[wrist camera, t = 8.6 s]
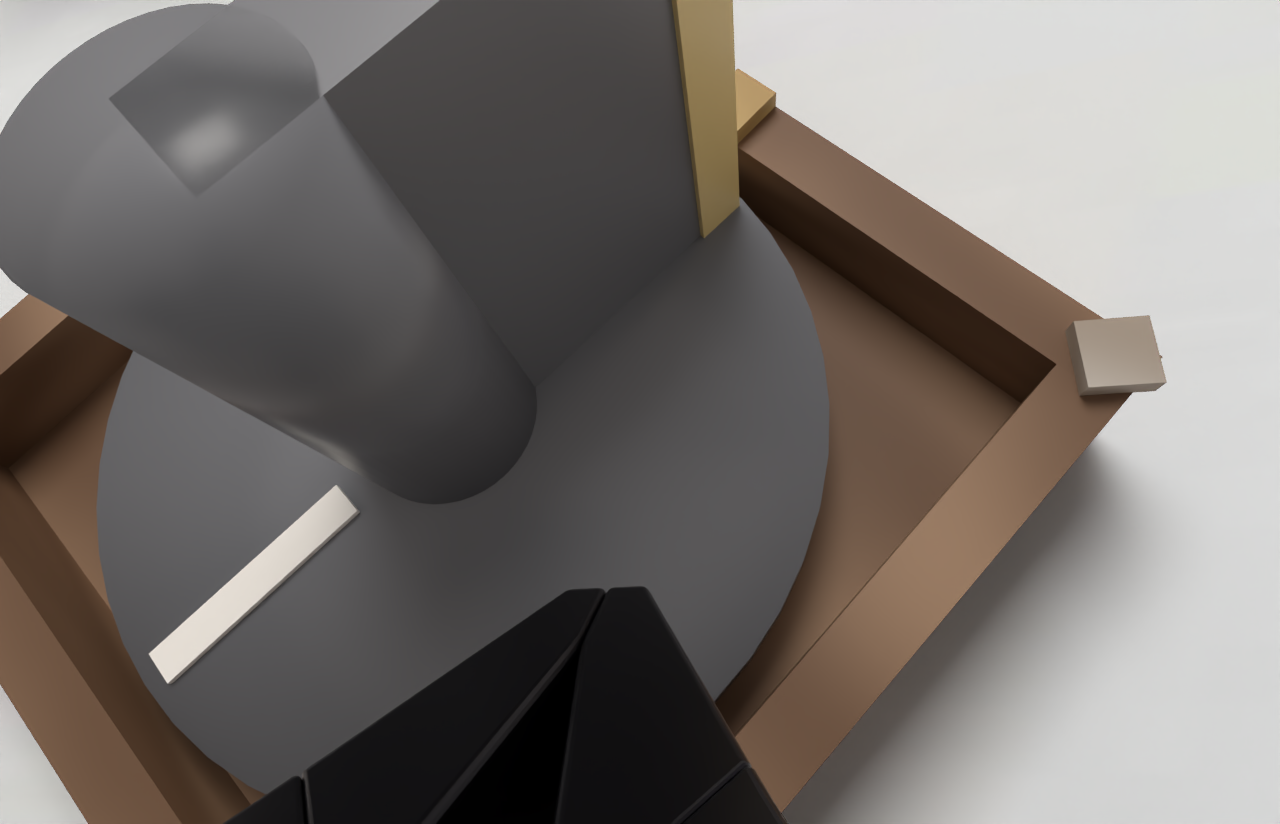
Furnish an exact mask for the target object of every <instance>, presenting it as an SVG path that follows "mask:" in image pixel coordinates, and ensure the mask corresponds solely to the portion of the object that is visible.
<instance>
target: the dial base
mask: <svg viewBox="0 0 1280 824" xmlns="http://www.w3.org/2000/svg"><path fill="white" fill-rule="evenodd" d="M735 86H736V114H737V143H738V172H739V197H740V198H741V199H742V200H743V201H744V202H745V203H746V204H747V206H748V207H749V208H750V209H751V210H752V212H753V213H754V214H755V215H756V216H757V217H758V219H759V220H760V221H761V222H762V223H763V225H764V226H765V227H766V228H767V229H768V231H769V232H770V233H771V235H772V236H773V238H774V240H775V241H776V243H777V245H778V246H779V248H780V249H781V251H782V253H783V254H784V256H785V257H786V259H787V261H788V262H789V264H790V266H791V267H792V269H793V271H794V273H795V275H796V278H797V280H798V282H799V284H800V287H801V289H802V291H803V294H804V296H805V298H806V300H807V303H808V305H809V307H810V310H811V312H812V316H813V320H814V323H815V327H816V331H817V334H818V338H819V342H820V345H821V349H822V353H823V356H824V364H825V373H826V381H827V389H828V397H829V455H828V462H827V468H826V474H825V480H824V487H823V493H822V499H821V505H820V509H819V513H818V516H817V519H816V522H815V526H814V529H813V532H812V535H811V539H810V542H809V545H808V549H807V552H806V555H805V558H804V561H803V564H802V567H801V570H800V572H799V574H798V576H797V579H796V581H795V583H794V585H793V587H792V589H791V592H790V594H789V596H788V598H787V600H786V602H785V605H784V607H783V609H782V611H781V613H780V615H779V617H778V619H777V621H776V622H775V624H774V625H773V627H772V628H771V630H770V632H769V633H768V635H767V636H766V638H765V639H764V641H763V643H762V644H761V646H760V647H759V649H758V650H757V652H756V654H755V655H754V657H753V658H752V660H751V661H750V662H749V664H748V665H747V666H746V667H745V668H744V670H743V671H742V672H741V673H740V674H739V675H738V677H737V678H736V679H735V680H734V681H733V683H732V684H731V685H730V686H729V687H728V688H727V690H726V691H725V692H724V693H723V694H722V696H721V697H720V698H719V699H718V700H717V701H716V702H715V704H716V706H717V707H718V709H719V711H720V713H721V714H722V716H723V718H724V719H725V721H726V723H727V725H728V726H729V728H730V730H731V731H732V733H733V735H734V737H735V738H736V740H737V742H738V743H739V745H740V747H741V749H742V750H743V752H744V754H745V755H746V757H747V759H748V761H749V762H750V764H751V767H752V768H753V769H754V770H755V771H756V772H757V774H758V776H759V777H760V779H761V781H762V782H763V784H764V786H765V787H766V789H767V791H768V793H769V794H770V796H771V798H772V799H773V801H774V802H775V804H776V806H777V807H778V809H779V810H780V812H781V813H782V812H783V810H784V809H785V808H786V807H787V806H788V804H789V803H790V802H791V801H792V800H793V798H794V797H795V796H796V795H797V794H798V792H799V791H800V790H801V789H802V788H803V786H804V785H805V784H806V783H807V782H808V780H809V779H810V778H811V777H812V776H813V774H814V773H815V772H816V771H817V770H818V768H819V767H820V766H821V765H822V764H823V762H824V761H825V760H826V759H827V758H828V757H829V755H830V754H831V753H832V752H833V751H834V749H835V748H836V747H837V746H838V745H839V743H840V742H841V741H842V740H843V739H844V737H845V736H846V735H847V734H848V733H849V731H850V730H851V729H852V728H853V727H854V725H855V724H856V723H857V722H858V721H859V719H860V718H861V717H862V716H863V715H864V713H865V712H866V711H867V710H868V709H869V707H870V706H871V705H872V704H873V703H874V701H875V700H876V699H877V698H878V697H879V695H880V694H881V693H882V692H883V691H884V689H885V688H886V687H887V686H888V685H889V684H890V682H891V681H892V680H893V679H894V678H895V676H896V675H897V674H898V673H899V672H900V670H901V669H902V668H903V667H904V666H905V664H906V663H907V662H908V661H909V660H910V658H911V657H912V656H913V655H914V654H915V652H916V651H917V650H918V649H919V648H920V646H921V645H922V644H923V643H924V642H925V640H926V639H927V638H928V637H929V636H930V634H931V633H932V632H933V631H934V630H935V628H936V627H937V626H938V625H939V624H940V622H941V621H942V620H943V619H944V618H945V616H946V615H947V614H948V613H949V612H950V610H951V609H952V608H953V607H954V606H955V605H956V603H957V602H958V601H959V600H960V599H961V597H962V596H963V595H964V594H965V593H966V591H967V590H968V589H969V588H970V587H971V585H972V584H973V583H974V582H975V581H976V579H977V578H978V577H979V576H980V575H981V573H982V572H983V571H984V570H985V569H986V567H987V566H988V565H989V564H990V563H991V561H992V560H993V559H994V558H995V557H996V555H997V554H998V553H999V552H1000V551H1001V549H1002V548H1003V547H1004V546H1005V545H1006V543H1007V542H1008V541H1009V540H1010V539H1011V537H1012V536H1013V535H1014V534H1015V533H1016V532H1017V530H1018V529H1019V528H1020V527H1021V526H1022V524H1023V523H1024V522H1025V521H1026V520H1027V518H1028V517H1029V516H1030V515H1031V514H1032V512H1033V511H1034V510H1035V509H1036V508H1037V506H1038V505H1039V504H1040V503H1041V502H1042V500H1043V499H1044V498H1045V497H1046V496H1047V494H1048V493H1049V492H1050V491H1051V490H1052V488H1053V487H1054V486H1055V485H1056V484H1057V482H1058V481H1059V480H1060V479H1061V478H1062V476H1063V475H1064V474H1065V473H1066V472H1067V470H1068V469H1069V468H1070V467H1071V466H1072V464H1073V463H1074V462H1075V461H1076V460H1077V459H1078V457H1079V456H1080V455H1081V454H1082V453H1083V451H1084V450H1085V449H1086V448H1087V447H1088V445H1089V444H1090V443H1091V442H1092V441H1093V439H1094V438H1095V437H1096V436H1097V435H1098V433H1099V432H1100V431H1101V430H1102V429H1103V427H1104V426H1105V425H1106V424H1107V423H1108V421H1109V420H1110V419H1111V418H1112V417H1113V415H1114V414H1115V413H1116V412H1117V411H1118V409H1119V408H1120V407H1121V406H1122V405H1123V403H1124V402H1125V401H1126V400H1127V399H1128V397H1129V396H1130V395H1131V394H1132V393H1133V392H1146V391H1156V390H1157V389H1158V388H1160V387H1161V386H1162V385H1164V384H1165V383H1166V378H1165V374H1164V370H1163V366H1162V362H1161V358H1162V356H1161V355H1159V351H1158V347H1157V343H1156V339H1155V335H1154V331H1153V328H1152V324H1151V320H1150V316H1136V317H1123V318H1110V319H1103V318H1102V317H1100V316H1099V315H1097V314H1096V313H1094V312H1093V311H1091V310H1089V309H1088V308H1086V307H1085V306H1083V305H1082V304H1080V303H1079V302H1077V301H1075V300H1074V299H1072V298H1071V297H1069V296H1068V295H1066V294H1065V293H1063V292H1062V291H1060V290H1058V289H1057V288H1055V287H1054V286H1052V285H1051V284H1049V283H1048V282H1046V281H1045V280H1043V279H1041V278H1040V277H1038V276H1037V275H1035V274H1034V273H1032V272H1031V271H1029V270H1028V269H1026V268H1024V267H1023V266H1021V265H1020V264H1018V263H1017V262H1015V261H1014V260H1012V259H1011V258H1009V257H1007V256H1006V255H1004V254H1003V253H1001V252H1000V251H998V250H997V249H995V248H994V247H992V246H990V245H989V244H987V243H986V242H984V241H983V240H981V239H980V238H978V237H976V236H975V235H973V234H972V233H970V232H969V231H967V230H966V229H964V228H963V227H961V226H959V225H958V224H956V223H955V222H953V221H952V220H950V219H949V218H947V217H946V216H944V215H942V214H941V213H939V212H938V211H936V210H935V209H933V208H932V207H930V206H929V205H927V204H925V203H924V202H922V201H921V200H919V199H918V198H916V197H915V196H913V195H912V194H910V193H908V192H907V191H905V190H904V189H902V188H901V187H899V186H898V185H896V184H895V183H893V182H891V181H890V180H888V179H887V178H885V177H884V176H882V175H881V174H879V173H877V172H876V171H874V170H873V169H871V168H870V167H868V166H867V165H865V164H864V163H862V162H860V161H859V160H857V159H856V158H854V157H853V156H851V155H850V154H848V153H847V152H845V151H843V150H842V149H840V148H839V147H837V146H836V145H834V144H833V143H831V142H830V141H828V140H826V139H825V138H823V137H822V136H820V135H819V134H817V133H816V132H814V131H813V130H811V129H809V128H808V127H806V126H805V125H803V124H802V123H800V122H799V121H797V120H796V119H794V118H792V117H791V116H789V115H788V114H786V113H785V112H783V111H782V110H780V109H778V108H777V107H775V104H776V93H775V92H774V91H772V90H771V89H769V88H768V87H766V86H765V85H763V84H761V83H760V82H758V81H757V80H755V79H754V78H752V77H750V76H749V75H747V74H746V73H744V72H743V71H741V70H740V69H737V70H736V71H735ZM132 352H133V351H132V350H130V349H129V348H127V347H125V346H123V345H121V344H120V343H118V342H116V341H114V340H112V339H110V338H109V337H107V336H105V335H103V334H101V333H99V332H98V331H96V330H94V329H92V328H90V327H88V326H87V325H85V324H83V323H81V322H79V321H77V320H76V319H74V318H72V317H70V316H68V315H66V314H65V313H63V312H61V311H59V310H57V309H55V308H54V307H52V306H50V305H48V304H46V303H44V302H43V301H41V300H39V299H37V298H35V297H34V296H32V295H30V294H28V295H27V296H26V297H25V298H24V299H22V300H21V301H20V302H19V303H18V304H17V305H16V306H14V307H13V308H12V309H11V310H10V311H9V312H7V313H6V314H5V315H4V316H3V317H2V318H1V319H0V684H1V686H2V688H3V689H4V691H5V692H6V694H7V695H8V697H9V699H10V700H11V702H12V703H13V705H14V707H15V708H16V710H17V711H18V713H19V715H20V716H21V718H22V719H23V721H24V722H25V724H26V726H27V727H28V729H29V730H30V732H31V734H32V735H33V737H34V738H35V740H36V741H37V743H38V745H39V746H40V748H41V749H42V751H43V753H44V754H45V756H46V757H47V759H48V761H49V762H50V764H51V765H52V767H53V768H54V770H55V772H56V773H57V775H58V776H59V778H60V780H61V781H62V783H63V784H64V786H65V787H66V789H67V791H68V792H69V794H70V795H71V797H72V799H73V800H74V802H75V803H76V805H77V807H78V808H79V810H80V811H81V813H82V814H83V816H84V818H85V819H86V821H87V822H88V824H223V823H224V822H226V821H227V820H229V819H230V818H232V817H233V816H235V815H236V814H238V813H239V812H241V811H242V810H244V809H245V808H247V807H248V806H250V805H251V804H253V803H254V802H256V801H257V800H259V799H260V798H262V797H263V796H265V795H266V794H264V793H262V792H260V791H258V790H256V789H254V788H252V787H250V786H248V785H246V784H245V783H244V782H242V781H241V780H239V779H238V778H236V777H235V776H234V775H232V774H231V773H229V772H228V771H227V770H225V769H224V768H222V767H221V766H219V765H218V764H217V763H215V762H214V761H212V760H211V759H210V758H208V757H207V756H206V755H205V754H204V753H203V752H202V751H201V750H200V749H199V748H198V747H197V746H196V745H195V744H194V743H193V742H192V741H191V740H190V739H189V738H188V737H187V736H186V735H185V734H184V733H183V732H181V731H180V730H179V729H178V728H177V727H176V726H175V725H174V724H173V722H172V721H171V720H170V718H169V717H168V716H167V714H166V713H165V712H164V710H163V709H162V708H161V706H160V705H159V704H158V702H157V701H156V699H155V698H154V697H153V695H152V694H151V693H150V691H149V690H148V689H147V687H146V686H145V684H144V682H143V681H142V679H141V677H140V675H139V673H138V671H137V669H136V667H135V665H134V663H133V661H132V660H131V658H130V656H129V654H128V652H127V650H126V648H125V646H124V644H123V642H122V639H121V636H120V633H119V630H118V627H117V625H116V622H115V619H114V616H113V613H112V610H111V607H110V604H109V602H108V598H107V593H106V588H105V583H104V577H103V572H102V567H101V562H100V557H99V545H98V528H97V510H96V507H97V493H98V479H99V465H100V459H101V454H102V448H103V443H104V438H105V433H106V428H107V423H108V418H109V415H110V412H111V409H112V406H113V402H114V399H115V396H116V393H117V390H118V387H119V384H120V380H121V377H122V375H123V372H124V370H125V368H126V366H127V363H128V361H129V359H130V357H131V354H132Z"/></svg>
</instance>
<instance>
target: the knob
mask: <svg viewBox="0 0 1280 824" xmlns="http://www.w3.org/2000/svg"><path fill="white" fill-rule="evenodd" d="M0 268H1V269H2V270H3V272H4V273H5V274H6V275H7V276H8V277H9V279H10V280H11V281H12V282H14V283H15V284H16V285H17V286H19V287H20V288H21V289H22V290H24V291H25V292H26V293H28V294H30V295H32V296H34V297H35V298H37V299H39V300H41V301H43V302H44V303H46V304H48V305H50V306H52V307H54V308H55V309H57V310H59V311H61V312H63V313H65V314H66V315H68V316H70V317H72V318H74V319H76V320H77V321H79V322H81V323H83V324H85V325H87V326H88V327H90V328H92V329H94V330H96V331H98V332H99V333H101V334H103V335H105V336H107V337H109V338H110V339H112V340H114V341H116V342H118V343H120V344H121V345H123V346H125V347H127V348H129V349H130V350H132V351H133V352H132V354H131V357H130V359H129V361H128V363H127V366H126V368H125V370H124V372H123V375H122V377H121V380H120V384H119V387H118V390H117V393H116V396H115V399H114V402H113V406H112V409H111V412H110V415H109V418H108V423H107V428H106V433H105V438H104V443H103V448H102V454H101V459H100V465H99V479H98V493H97V507H96V510H97V528H98V545H99V557H100V562H101V567H102V572H103V577H104V583H105V588H106V593H107V598H108V602H109V604H110V607H111V610H112V613H113V616H114V619H115V622H116V625H117V627H118V630H119V633H120V636H121V639H122V642H123V644H124V646H125V648H126V650H127V652H128V654H129V656H130V658H131V660H132V661H133V663H134V665H135V667H136V669H137V671H138V673H139V675H140V677H141V679H142V681H143V682H144V684H145V686H146V687H147V689H148V690H149V691H150V693H151V694H152V695H153V697H154V698H155V699H156V701H157V702H158V704H159V705H160V706H161V708H162V709H163V710H164V712H165V713H166V714H167V716H168V717H169V718H170V720H171V721H172V722H173V724H174V725H175V726H176V727H177V728H178V729H179V730H180V731H181V732H183V733H184V734H185V735H186V736H187V737H188V738H189V739H190V740H191V741H192V742H193V743H194V744H195V745H196V746H197V747H198V748H199V749H200V750H201V751H202V752H203V753H204V754H205V755H206V756H207V757H208V758H210V759H211V760H212V761H214V762H215V763H217V764H218V765H219V766H221V767H222V768H224V769H225V770H227V771H228V772H229V773H231V774H232V775H234V776H235V777H236V778H238V779H239V780H241V781H242V782H244V783H245V784H246V785H248V786H250V787H252V788H254V789H256V790H258V791H260V792H262V793H264V794H268V793H269V792H270V791H272V790H273V789H275V788H276V787H278V786H279V785H281V784H282V783H283V782H285V781H286V780H288V779H289V778H291V777H292V776H300V777H301V779H302V773H303V771H304V770H305V769H307V768H308V767H310V766H311V765H312V764H314V763H315V762H317V761H318V760H320V759H321V758H323V757H324V756H326V755H327V754H329V753H330V752H331V751H333V750H334V749H336V748H337V747H339V746H340V745H342V744H343V743H345V742H346V741H348V740H349V739H350V738H352V737H353V736H355V735H356V734H358V733H359V732H361V731H362V730H364V729H365V728H367V727H368V726H369V725H371V724H372V723H374V722H375V721H377V720H378V719H380V718H381V717H383V716H384V715H386V714H387V713H388V712H390V711H391V710H393V709H394V708H396V707H397V706H399V705H400V704H402V703H403V702H405V701H406V700H407V699H409V698H410V697H412V696H413V695H415V694H416V693H418V692H419V691H421V690H422V689H424V688H425V687H426V686H428V685H429V684H431V683H432V682H434V681H435V680H437V679H438V678H440V677H441V676H443V675H444V674H445V673H447V672H448V671H450V670H451V669H453V668H454V667H456V666H457V665H459V664H460V663H462V662H463V661H464V660H466V659H467V658H469V657H470V656H472V655H473V654H475V653H476V652H478V651H479V650H481V649H482V648H483V647H485V646H486V645H488V644H489V643H491V642H492V641H494V640H495V639H497V638H498V637H499V636H501V635H502V634H504V633H505V632H507V631H508V630H510V629H511V628H513V627H514V626H516V625H517V624H518V623H520V622H521V621H523V620H524V619H526V618H527V617H529V616H530V615H532V614H533V613H534V612H536V611H537V610H539V609H540V608H542V607H543V606H545V605H546V604H548V603H549V602H551V601H552V600H553V599H555V598H556V597H558V596H559V595H561V594H562V593H564V592H565V591H567V590H571V589H589V588H601V589H603V590H605V591H606V593H607V591H608V590H609V589H611V588H613V587H632V586H644V587H646V588H647V589H648V590H649V591H650V593H651V594H652V596H653V598H654V600H655V601H656V603H657V605H658V606H659V608H660V610H661V612H662V613H663V615H664V617H665V618H666V620H667V622H668V624H669V625H670V627H671V629H672V630H673V632H674V634H675V636H676V637H677V639H678V641H679V642H680V644H681V646H682V648H683V649H684V651H685V653H686V654H687V656H688V658H689V660H690V661H691V663H692V665H693V666H694V668H695V670H696V672H697V673H698V675H699V677H700V678H701V680H702V682H703V683H704V685H705V687H706V689H707V690H708V692H709V694H710V695H711V697H712V699H713V701H714V702H716V701H717V700H718V699H719V698H720V697H721V696H722V694H723V693H724V692H725V691H726V690H727V688H728V687H729V686H730V685H731V684H732V683H733V681H734V680H735V679H736V678H737V677H738V675H739V674H740V673H741V672H742V671H743V670H744V668H745V667H746V666H747V665H748V664H749V662H750V661H751V660H752V658H753V657H754V655H755V654H756V652H757V650H758V649H759V647H760V646H761V644H762V643H763V641H764V639H765V638H766V636H767V635H768V633H769V632H770V630H771V628H772V627H773V625H774V624H775V622H776V621H777V619H778V617H779V615H780V613H781V611H782V609H783V607H784V605H785V602H786V600H787V598H788V596H789V594H790V592H791V589H792V587H793V585H794V583H795V581H796V579H797V576H798V574H799V572H800V570H801V567H802V564H803V561H804V558H805V555H806V552H807V549H808V545H809V542H810V539H811V535H812V532H813V529H814V526H815V522H816V519H817V516H818V513H819V509H820V505H821V499H822V493H823V487H824V480H825V474H826V468H827V462H828V455H829V397H828V389H827V381H826V373H825V364H824V356H823V353H822V349H821V345H820V342H819V338H818V334H817V331H816V327H815V323H814V320H813V316H812V312H811V310H810V307H809V305H808V303H807V300H806V298H805V296H804V294H803V291H802V289H801V287H800V284H799V282H798V280H797V278H796V275H795V273H794V271H793V269H792V267H791V266H790V264H789V262H788V261H787V259H786V257H785V256H784V254H783V253H782V251H781V249H780V248H779V246H778V245H777V243H776V241H775V240H774V238H773V236H772V235H771V233H770V232H769V231H768V229H767V228H766V227H765V226H764V225H763V223H762V222H761V221H760V220H759V219H758V217H757V216H756V215H755V214H754V213H753V212H752V210H751V209H750V208H749V207H748V206H747V204H746V203H745V202H744V201H743V200H742V199H741V198H740V197H739V172H738V143H737V114H736V86H735V57H734V28H733V0H234V1H233V2H232V3H230V4H229V5H223V4H210V3H208V4H188V5H181V6H174V7H168V8H164V9H160V10H156V11H153V12H149V13H146V14H143V15H140V16H137V17H134V18H132V19H129V20H126V21H124V22H122V23H120V24H118V25H116V26H113V27H111V28H109V29H107V30H105V31H104V32H102V33H100V34H98V35H97V36H95V37H93V38H91V39H90V40H88V41H86V42H85V43H84V44H82V45H81V46H79V47H78V48H76V49H75V50H74V51H72V52H71V53H69V54H68V55H67V56H66V57H64V58H63V59H62V60H61V61H60V62H58V63H57V64H56V65H55V66H54V67H52V68H51V69H50V70H49V71H48V72H47V73H46V74H45V75H44V76H43V77H42V78H41V79H40V80H39V81H38V82H37V83H36V84H35V85H34V86H33V88H32V89H31V90H30V91H29V92H28V94H27V95H26V96H25V97H24V98H23V100H22V101H21V102H20V104H19V105H18V106H17V108H16V109H15V111H14V112H13V114H12V115H11V117H10V118H9V120H8V121H7V123H6V125H5V127H4V129H3V130H2V132H1V134H0Z"/></svg>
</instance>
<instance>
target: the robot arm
mask: <svg viewBox="0 0 1280 824" xmlns="http://www.w3.org/2000/svg"><path fill="white" fill-rule="evenodd" d="M223 824H788V823H787V821H786V819H785V818H784V816H783V815H782V813H781V812H780V810H779V809H778V807H777V806H776V804H775V802H774V801H773V799H772V798H771V796H770V794H769V793H768V791H767V789H766V787H765V786H764V784H763V782H762V781H761V779H760V777H759V776H758V774H757V772H756V771H755V770H754V769H753V768H752V767H751V764H750V762H749V761H748V759H747V757H746V755H745V754H744V752H743V750H742V749H741V747H740V745H739V743H738V742H737V740H736V738H735V737H734V735H733V733H732V731H731V730H730V728H729V726H728V725H727V723H726V721H725V719H724V718H723V716H722V714H721V713H720V711H719V709H718V707H717V706H716V704H715V702H714V701H713V699H712V697H711V695H710V694H709V692H708V690H707V689H706V687H705V685H704V683H703V682H702V680H701V678H700V677H699V675H698V673H697V672H696V670H695V668H694V666H693V665H692V663H691V661H690V660H689V658H688V656H687V654H686V653H685V651H684V649H683V648H682V646H681V644H680V642H679V641H678V639H677V637H676V636H675V634H674V632H673V630H672V629H671V627H670V625H669V624H668V622H667V620H666V618H665V617H664V615H663V613H662V612H661V610H660V608H659V606H658V605H657V603H656V601H655V600H654V598H653V596H652V594H651V593H650V591H649V590H648V589H647V588H646V587H644V586H632V587H613V588H611V589H609V590H608V591H607V593H606V591H605V590H603V589H601V588H589V589H571V590H567V591H565V592H564V593H562V594H561V595H559V596H558V597H556V598H555V599H553V600H552V601H551V602H549V603H548V604H546V605H545V606H543V607H542V608H540V609H539V610H537V611H536V612H534V613H533V614H532V615H530V616H529V617H527V618H526V619H524V620H523V621H521V622H520V623H518V624H517V625H516V626H514V627H513V628H511V629H510V630H508V631H507V632H505V633H504V634H502V635H501V636H499V637H498V638H497V639H495V640H494V641H492V642H491V643H489V644H488V645H486V646H485V647H483V648H482V649H481V650H479V651H478V652H476V653H475V654H473V655H472V656H470V657H469V658H467V659H466V660H464V661H463V662H462V663H460V664H459V665H457V666H456V667H454V668H453V669H451V670H450V671H448V672H447V673H445V674H444V675H443V676H441V677H440V678H438V679H437V680H435V681H434V682H432V683H431V684H429V685H428V686H426V687H425V688H424V689H422V690H421V691H419V692H418V693H416V694H415V695H413V696H412V697H410V698H409V699H407V700H406V701H405V702H403V703H402V704H400V705H399V706H397V707H396V708H394V709H393V710H391V711H390V712H388V713H387V714H386V715H384V716H383V717H381V718H380V719H378V720H377V721H375V722H374V723H372V724H371V725H369V726H368V727H367V728H365V729H364V730H362V731H361V732H359V733H358V734H356V735H355V736H353V737H352V738H350V739H349V740H348V741H346V742H345V743H343V744H342V745H340V746H339V747H337V748H336V749H334V750H333V751H331V752H330V753H329V754H327V755H326V756H324V757H323V758H321V759H320V760H318V761H317V762H315V763H314V764H312V765H311V766H310V767H308V768H307V769H305V770H304V771H303V773H302V779H301V777H300V776H292V777H291V778H289V779H288V780H286V781H285V782H283V783H282V784H281V785H279V786H278V787H276V788H275V789H273V790H272V791H270V792H269V793H268V794H266V795H265V796H263V797H262V798H260V799H259V800H257V801H256V802H254V803H253V804H251V805H250V806H248V807H247V808H245V809H244V810H242V811H241V812H239V813H238V814H236V815H235V816H233V817H232V818H230V819H229V820H227V821H226V822H224V823H223Z"/></svg>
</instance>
